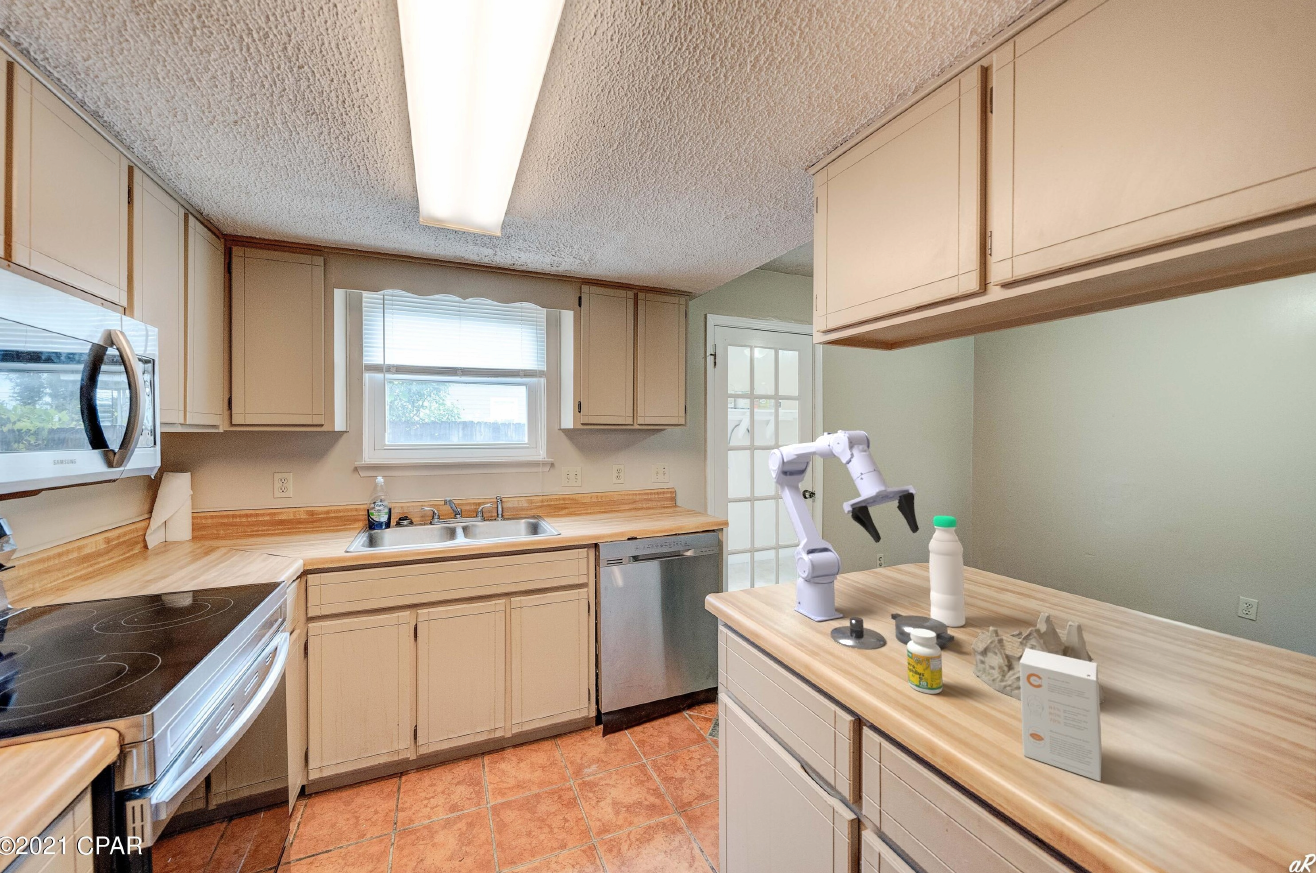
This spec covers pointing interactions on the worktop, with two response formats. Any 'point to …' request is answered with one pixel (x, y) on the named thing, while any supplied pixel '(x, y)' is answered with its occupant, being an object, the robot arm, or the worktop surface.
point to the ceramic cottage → (1005, 652)
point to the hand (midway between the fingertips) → (897, 536)
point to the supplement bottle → (924, 662)
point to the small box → (1061, 712)
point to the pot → (920, 622)
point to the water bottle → (946, 573)
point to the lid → (857, 635)
